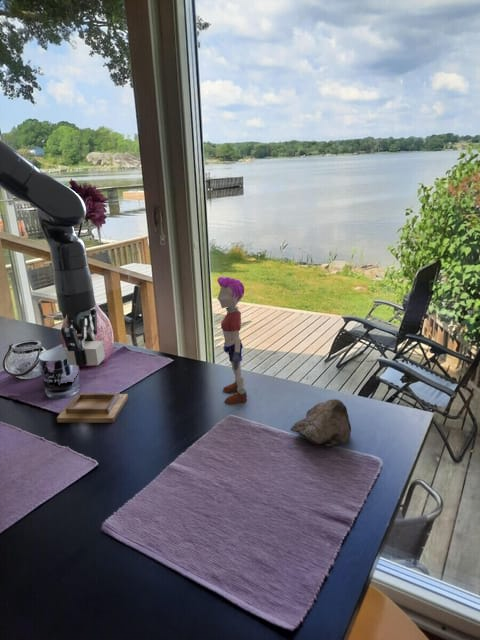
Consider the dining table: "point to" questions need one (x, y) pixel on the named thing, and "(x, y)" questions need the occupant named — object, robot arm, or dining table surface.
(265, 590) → the dining table surface
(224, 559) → the dining table surface
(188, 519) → the dining table surface
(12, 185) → the robot arm
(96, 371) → the dining table surface
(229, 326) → the toy
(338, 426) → the rock
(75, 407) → the small square wooden tray
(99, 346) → the beige rectangular block
